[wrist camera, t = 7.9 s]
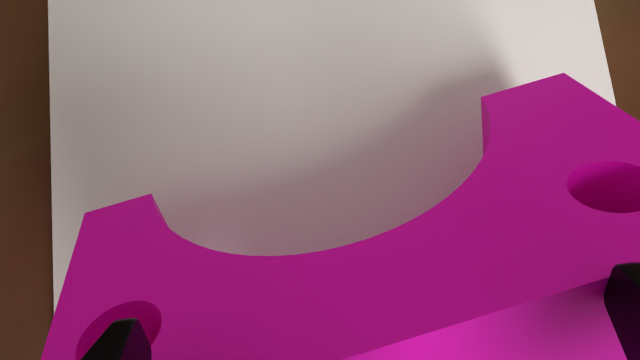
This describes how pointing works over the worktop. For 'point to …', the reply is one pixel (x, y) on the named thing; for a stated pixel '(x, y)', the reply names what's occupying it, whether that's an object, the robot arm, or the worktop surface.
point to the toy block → (396, 260)
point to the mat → (288, 109)
